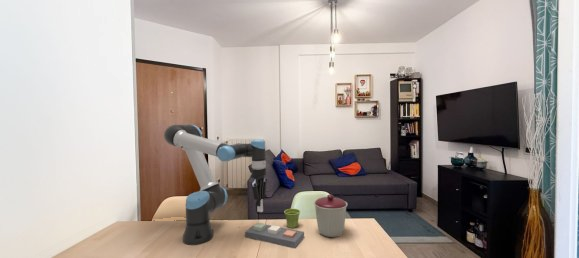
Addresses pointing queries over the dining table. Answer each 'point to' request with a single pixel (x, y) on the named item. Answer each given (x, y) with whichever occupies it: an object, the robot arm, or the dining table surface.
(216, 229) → the dining table surface
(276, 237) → the keypad
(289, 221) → the plant pot
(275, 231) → the cream key
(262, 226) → the sage key
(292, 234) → the terracotta key
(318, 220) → the canister
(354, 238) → the dining table surface
